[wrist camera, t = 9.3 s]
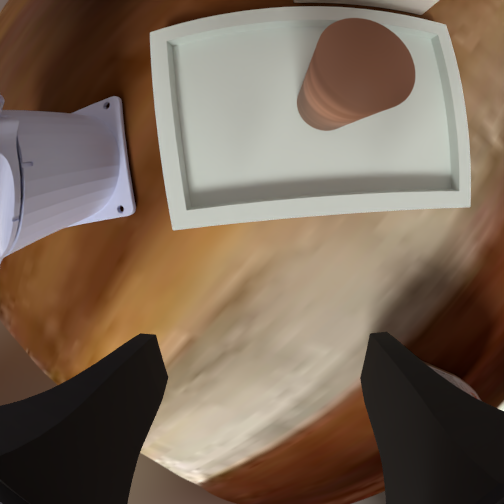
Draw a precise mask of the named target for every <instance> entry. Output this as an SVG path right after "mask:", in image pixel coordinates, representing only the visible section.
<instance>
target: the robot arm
mask: <svg viewBox="0 0 504 504" xmlns="http://www.w3.org/2000/svg"><path fill="white" fill-rule="evenodd" d="M108 103H110V106H109V108H108V109H107V108H106V106H107V104H108ZM3 105H4V98H3V96H1V95H0V263H1V261H2V259H3V258H4V257H5V256H7V255H9V254H11V253H13V252H15V251H17V250H19V249H21V248H23V247H25V246H27V245H29V244H31V243H33V242H35V241H37V240H39V239H41V238H43V237H45V236H47V235H49V234H52V233H54V232H56V231H58V230H60V229H63V228H65V227H70V226H75V225H80V224H85V223H90V222H96V221H101V220H106V219H112V218H118V217H123V216H129V215H131V214H133V213H134V212H135V210H136V205H135V199H134V194H133V188H132V182H131V175H130V169H129V162H128V155H127V147H126V139H125V130H124V120H123V109H122V100H121V98H120V97H117V96H112V97H110V98H107V99H104V100H102V101H99V102H97V103H94V104H92V105H89V106H87V107H85V108H82V109H80V110H78V111H75V112H73V113H60V112H46V111H27V110H2V108H3ZM120 206H123V208H124V211H123V212H122V211H121V210H120ZM360 379H361V384H362V391H363V396H364V402H365V405H366V409H367V412H368V415H369V419H370V422H371V425H372V428H373V432H374V435H375V438H376V442H377V445H378V449H379V452H380V457H381V461H382V467H383V474H384V483H385V494H386V504H504V411H502V410H499V409H497V408H495V407H493V406H491V405H488V404H486V403H484V402H482V401H480V400H478V399H477V398H475V397H473V396H471V395H470V394H468V393H466V392H465V391H463V390H461V389H460V388H458V387H456V386H455V385H453V384H452V383H451V382H449V381H448V380H446V379H445V378H444V377H442V376H441V375H439V374H438V373H437V372H435V371H434V370H433V369H431V368H430V367H429V366H428V365H426V364H425V363H424V362H423V361H421V360H420V359H419V358H418V357H417V356H415V355H414V354H413V353H412V352H411V351H409V350H408V349H407V348H406V347H405V346H403V345H402V344H401V343H400V342H399V341H397V340H396V339H395V338H394V337H393V336H391V335H390V334H389V333H387V332H382V333H371V334H370V336H369V341H368V346H367V351H366V356H365V360H364V365H363V369H362V373H361V378H360ZM167 380H168V375H167V372H166V369H165V365H164V362H163V359H162V355H161V352H160V348H159V345H158V341H157V338H156V335H153V334H139V335H137V336H135V337H134V338H132V339H131V340H129V341H128V342H126V343H125V344H123V345H122V346H120V347H119V348H117V349H116V350H115V351H113V352H112V353H110V354H109V355H107V356H106V357H104V358H103V359H101V360H100V361H99V362H97V363H96V364H94V365H92V366H91V367H89V368H88V369H86V370H84V371H83V372H81V373H79V374H78V375H76V376H75V377H73V378H71V379H69V380H68V381H66V382H64V383H62V384H60V385H58V386H56V387H54V388H52V389H50V390H47V391H45V392H43V393H40V394H38V395H35V396H32V397H29V398H27V399H24V400H21V401H17V402H14V403H10V404H6V405H2V406H0V504H127V503H128V497H129V492H130V487H131V483H132V478H133V474H134V471H135V467H136V463H137V460H138V456H139V454H140V451H141V448H142V446H143V443H144V441H145V439H146V436H147V434H148V432H149V430H150V427H151V425H152V423H153V420H154V418H155V416H156V413H157V411H158V409H159V406H160V404H161V402H162V399H163V395H164V392H165V388H166V384H167Z"/></svg>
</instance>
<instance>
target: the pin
mask: <svg viewBox="0 0 504 504" xmlns="http://www.w3.org/2000/svg"><path fill="white" fill-rule="evenodd" d="M414 84H415V66H414V62H413V59H412V56H411V54H410V52H409V50H408V49H407V47H406V46H405V44H404V43H403V42H402V40H401V39H400V38H399V37H398V36H397V35H396V34H395V33H393V32H392V31H391V30H389V29H388V28H386V27H385V26H383V25H381V24H379V23H377V22H374V21H371V20H367V19H362V18H346V19H342V20H339V21H336V22H334V23H332V24H331V25H329V26H328V27H327V28H326V29H325V30H324V31H323V32H322V34H321V36H320V38H319V40H318V43H317V45H316V48H315V51H314V53H313V56H312V59H311V62H310V64H309V67H308V70H307V72H306V75H305V78H304V81H303V83H302V86H301V89H300V91H299V94H298V97H297V108H298V112H299V114H300V116H301V117H302V119H303V120H304V121H305V122H306V123H307V124H308V125H310V126H311V127H313V128H315V129H318V130H322V131H331V130H335V129H338V128H340V127H342V126H345V125H347V124H350V123H353V122H355V121H358V120H360V119H363V118H365V117H368V116H371V115H373V114H376V113H379V112H382V111H384V110H387V109H390V108H393V107H395V106H397V105H399V104H401V103H402V102H404V101H405V100H406V99H407V98H408V96H409V95H410V94H411V92H412V90H413V87H414Z"/></svg>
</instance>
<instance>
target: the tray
mask: <svg viewBox="0 0 504 504" xmlns="http://www.w3.org/2000/svg"><path fill="white" fill-rule="evenodd" d="M346 18H362V19H367V20H371V21H374V22H377V23H379V24H381V25H383V26H385V27H386V28H388V29H389V30H391V31H392V32H393V33H395V34H396V35H397V36H398V37H399V38H400V39H401V40H402V42H403V43H404V44H405V46H406V47H407V49H408V50H409V52H410V54H411V56H412V59H413V62H414V66H415V84H414V87H413V90H412V92H411V94H410V95H409V96H408V98H407V99H406V100H405V101H404V102H402V103H401V104H399V105H397V106H395V107H393V108H390V109H387V110H384V111H382V112H379V113H376V114H373V115H371V116H368V117H365V118H363V119H360V120H358V121H355V122H353V123H350V124H347V125H345V126H342V127H340V128H338V129H335V130H331V131H322V130H318V129H315V128H313V127H311V126H310V125H308V124H307V123H306V122H305V121H304V120H303V119H302V117H301V116H300V114H299V112H298V108H297V97H298V94H299V91H300V89H301V86H302V83H303V81H304V78H305V75H306V72H307V70H308V67H309V64H310V62H311V59H312V56H313V53H314V51H315V48H316V45H317V43H318V40H319V38H320V36H321V34H322V32H323V31H324V30H325V29H326V28H327V27H328V26H329V25H331V24H332V23H334V22H336V21H339V20H342V19H346ZM150 50H151V67H152V81H153V93H154V103H155V113H156V123H157V131H158V139H159V147H160V155H161V162H162V169H163V176H164V182H165V188H166V194H167V200H168V206H169V212H170V218H171V223H172V228H173V230H180V229H188V228H197V227H206V226H215V225H224V224H234V223H244V222H254V221H264V220H275V219H286V218H297V217H309V216H322V215H335V214H348V213H363V212H378V211H395V210H414V209H435V208H460V207H470V202H471V165H470V146H469V134H468V124H467V116H466V108H465V102H464V95H463V90H462V84H461V79H460V75H459V70H458V66H457V61H456V57H455V54H454V50H453V46H452V43H451V39H450V36H449V33H448V29H447V26H446V25H445V24H441V23H437V22H434V21H430V20H426V19H421V18H417V17H412V16H407V15H402V14H397V13H391V12H384V11H377V10H369V9H360V8H347V7H327V6H298V7H277V8H265V9H255V10H247V11H240V12H233V13H227V14H221V15H216V16H211V17H206V18H201V19H197V20H192V21H188V22H184V23H180V24H177V25H173V26H170V27H166V28H163V29H159V30H156V31H153V32H150Z"/></svg>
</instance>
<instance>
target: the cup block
mask: <svg viewBox="0 0 504 504" xmlns="http://www.w3.org/2000/svg"><path fill="white" fill-rule="evenodd" d="M293 1H294V3H339V4H353V5H364V6H372V7H380V8H387V9H393V10H398V11H404V12H409V13H413V14H418V15H422V14H423V13H424V12H426V11H427V10H428V9H429V8H430V7H432V6H433V5H434V4H435V3H437V2H438V1H439V0H293Z"/></svg>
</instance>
